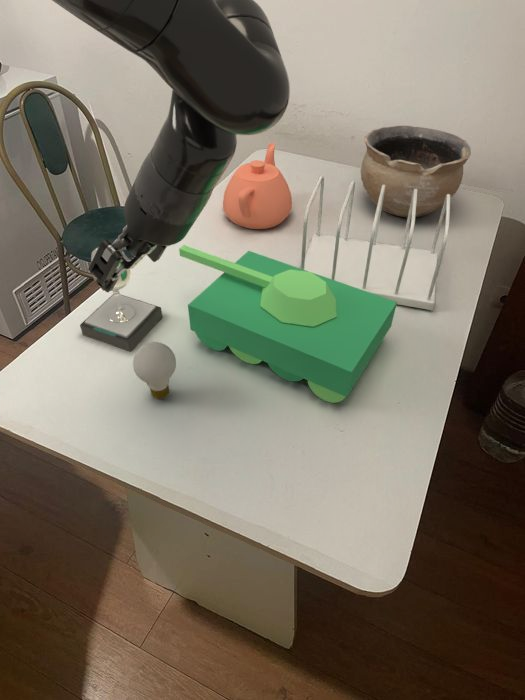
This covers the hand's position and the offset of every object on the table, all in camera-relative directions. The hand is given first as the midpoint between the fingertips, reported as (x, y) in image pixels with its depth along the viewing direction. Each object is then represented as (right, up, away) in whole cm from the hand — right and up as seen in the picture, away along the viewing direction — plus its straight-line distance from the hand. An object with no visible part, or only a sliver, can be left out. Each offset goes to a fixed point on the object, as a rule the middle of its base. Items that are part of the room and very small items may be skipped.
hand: (128, 270), depth 68 cm
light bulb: (+3, -17, +9) cm, 20 cm away
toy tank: (+19, -8, +19) cm, 28 cm away
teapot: (+17, +20, +48) cm, 54 cm away
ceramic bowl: (+50, +23, +51) cm, 75 cm away
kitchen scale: (-6, -6, +20) cm, 22 cm away
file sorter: (+38, +4, +32) cm, 50 cm away
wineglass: (-6, -5, +18) cm, 20 cm away
